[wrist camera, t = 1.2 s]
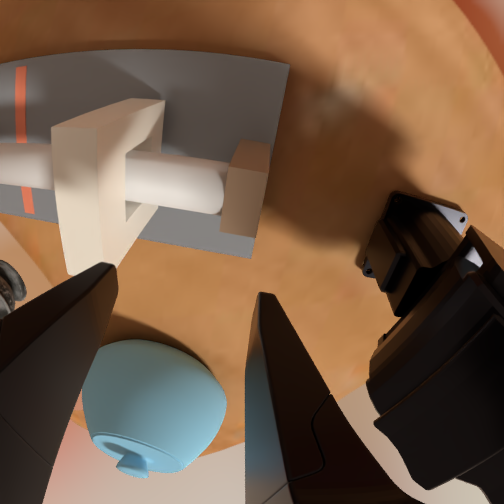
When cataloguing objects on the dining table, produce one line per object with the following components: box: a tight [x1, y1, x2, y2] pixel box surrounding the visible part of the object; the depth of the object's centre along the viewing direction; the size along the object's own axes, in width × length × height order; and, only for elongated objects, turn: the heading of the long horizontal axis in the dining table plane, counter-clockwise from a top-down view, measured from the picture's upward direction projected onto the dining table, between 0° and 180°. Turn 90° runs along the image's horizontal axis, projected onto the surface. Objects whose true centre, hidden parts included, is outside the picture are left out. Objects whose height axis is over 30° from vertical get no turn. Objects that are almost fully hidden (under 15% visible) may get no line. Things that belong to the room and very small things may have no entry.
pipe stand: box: [0, 49, 290, 259], centre depth 15 cm, size 22×12×6 cm, turn 81°
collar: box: [51, 98, 165, 276], centre depth 14 cm, size 2×6×7 cm, turn 171°
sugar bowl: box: [82, 339, 227, 478], centre depth 26 cm, size 15×15×12 cm
